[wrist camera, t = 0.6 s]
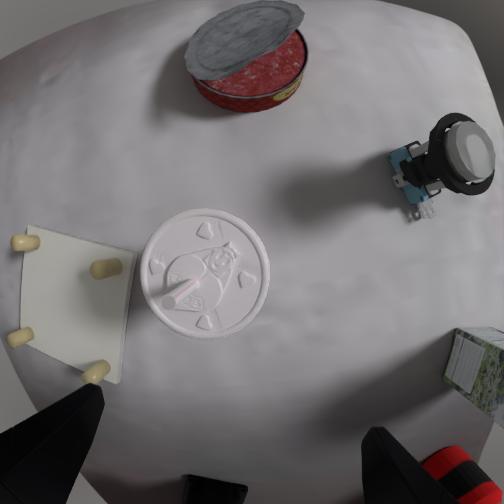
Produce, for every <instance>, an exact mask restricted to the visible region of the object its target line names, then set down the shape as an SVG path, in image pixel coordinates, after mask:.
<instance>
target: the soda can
mask: <svg viewBox="0 0 504 504" xmlns="http://www.w3.org/2000/svg"><path fill="white" fill-rule="evenodd" d="M422 466H423V467H424V468H425V469H426V470H427V471H428V472H429V473H430V474H431V475H432V476H433V477H434V478H435V479H436V480H437V481H438V482H439V483H440V484H441V485H442V488H445V489H446V490H447V491H448V492H449V493H450V494H451V495H452V496H453V497H454V498H455V499H456V500H457V501H458V502H460V503H461V504H501V501H502V490H501V489H500V488H499V487H498V486H497V485H496V484H495V483H494V482H493V481H492V480H491V479H490V478H489V477H488V476H487V474H486V473H485V472H483V470H482V469H481V468H480V467H479V466H478V465H477V464H476V463H475V462H474V461H473V460H472V459H471V458H470V457H469V455H468V454H467V453H466V452H465V451H464V450H463V449H462V448H461V447H459V446H451V447H447V448H444V449H442V450H440V451H438V452H437V453H435V454H434V455H432V456H431V457H430V458H429V459H428V460H426V461H425V462H424V464H423V465H422Z"/></svg>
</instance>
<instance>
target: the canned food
mask: <svg viewBox="0 0 504 504" xmlns="http://www.w3.org/2000/svg"><path fill="white" fill-rule="evenodd" d="M304 14H305V13H304V12H303V11H302V10H301V9H300V8H299V6H298V5H296V4H291V3H288V2H285V1H282V0H279V1H265V0H261V1H256V2H252V3H248V4H242V5H238V6H236V7H234V8H232V9H230V10H227V11H225V12H222V13H220V14H218V15H217V16H215V17H213V18H212V19H210V20H208V21H207V22H205V23H204V24H203V25H202V26H200V27H199V29H198V30H197V31H196V32H195V33H194V34H193V36H192V38H191V40H190V41H189V44H188V47H187V50H186V53H185V55H184V59H185V62H186V67H187V71H188V72H190V73H191V74H192V77H193V79H194V82H195V84H196V86H197V88H198V90H199V91H200V93H201V94H202V95H203V96H204V97H205V98H206V99H208V100H209V101H210V102H212V103H213V104H215V105H217V106H219V107H221V108H224V109H227V110H231V111H236V112H259V111H263V110H268V109H270V108H273V107H275V106H278V105H280V104H281V103H283V102H284V101H286V100H288V99H289V98H290V97H291V96H292V95H293V94H294V93H295V92H296V90H297V88H298V87H299V85H300V83H301V80H302V77H303V74H304V71H305V68H306V65H307V62H308V53H309V52H308V47H307V43H306V41H305V38H304V36H303V35H302V33H301V32H300V31H299V29H298V27H299V26H300V25H301V23H302V21H303V18H304Z"/></svg>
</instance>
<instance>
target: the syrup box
mask: <svg viewBox="0 0 504 504" xmlns="http://www.w3.org/2000/svg"><path fill="white" fill-rule="evenodd" d="M443 380H444V381H446V382H447V383H448V384H450V385H451V386H452V387H453V388H454V389H456V390H457V391H458V392H459V393H461V394H462V395H463V396H464V397H466V398H467V399H468V400H469V401H471V402H472V403H473V404H474V405H476V406H477V407H478V408H479V409H480V410H482V411H483V412H484V413H485V414H487V415H488V416H489V417H490V418H491V419H493V420H494V421H495V422H496V423H497V424H499V425H500V426H501V427H503V429H504V332H502V331H499V330H497V329H494V328H492V327H484V328H457V329H456V333H455V337H454V341H453V345H452V348H451V352H450V356H449V359H448V363H447V366H446V369H445V372H444V375H443Z"/></svg>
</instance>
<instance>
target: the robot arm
mask: <svg viewBox="0 0 504 504" xmlns="http://www.w3.org/2000/svg"><path fill="white" fill-rule="evenodd" d="M104 405H105V402H104V397H103V393H102V389H101V387H100V386H99V385H96V384H93V383H87V384H86V385H84V386H82V387H81V388H79V389H77V390H76V391H74V392H72V393H71V394H69V395H67V396H65V397H64V398H62V399H60V400H59V401H57V402H55V403H53V404H52V405H50V406H48V407H47V408H45V409H43V410H41V411H40V412H38V413H36V414H34V415H33V416H31V417H29V418H27V419H26V420H24V421H22V422H20V423H19V424H17V425H15V426H14V427H11V428H9V429H8V430H6V431H4V432H2V433H0V504H66V502H67V499H68V496H69V494H70V492H71V490H72V487H73V485H74V483H75V480H76V478H77V476H78V473H79V471H80V469H81V467H82V465H83V462H84V460H85V458H86V456H87V454H88V451H89V449H90V447H91V445H92V442H93V439H94V436H95V433H96V430H97V427H98V424H99V421H100V418H101V415H102V412H103V409H104ZM361 453H362V483H363V491H364V498H365V504H461V503H460V502H458V501H457V500H456V499H455V498H454V497H453V496H452V495H451V494H450V493H449V492H448V491H447V490H446V489H445V488H442V485H441V484H440V483H439V482H438V481H437V480H436V479H435V478H434V477H433V476H432V475H431V474H430V473H429V472H428V471H427V470H426V469H425V468H424V467H423V466H422V465H421V464H420V463H419V462H418V461H417V460H416V459H415V458H414V457H413V456H412V455H411V454H410V453H409V452H408V451H407V450H406V449H405V448H404V447H403V446H402V445H401V444H400V443H399V442H398V441H397V440H396V439H395V438H394V437H393V436H392V435H391V434H390V432H389V431H388V430H387V429H386V428H385V427H383V426H373V427H371V428H370V430H369V431H368V433H367V434H366V435H365V437H364V438H363V440H362V443H361ZM247 492H248V487H247V486H245V485H239V484H233V483H227V482H222V481H217V480H212V479H207V478H202V477H198V476H194V475H188V476H187V480H186V485H185V490H184V496H183V501H182V504H243V502H244V499H245V497H246V494H247Z"/></svg>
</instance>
